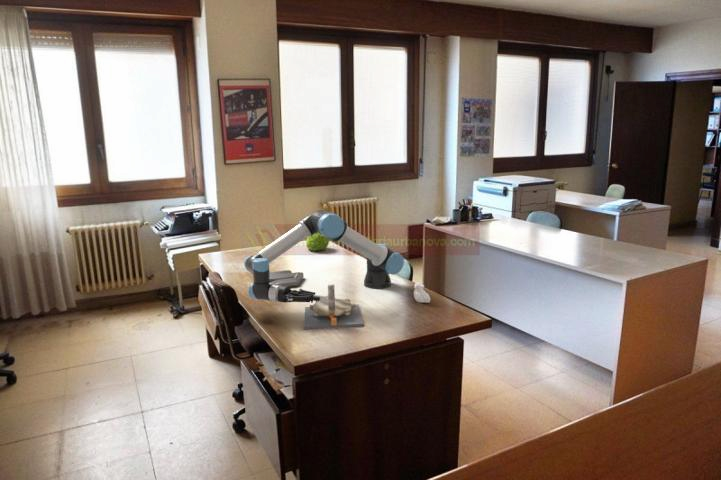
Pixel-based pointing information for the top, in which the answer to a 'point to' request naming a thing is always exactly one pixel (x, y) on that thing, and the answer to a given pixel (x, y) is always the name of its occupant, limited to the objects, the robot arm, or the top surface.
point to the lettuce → (317, 242)
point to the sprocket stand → (332, 320)
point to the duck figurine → (420, 293)
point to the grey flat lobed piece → (286, 278)
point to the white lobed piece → (332, 305)
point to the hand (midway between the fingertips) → (327, 299)
